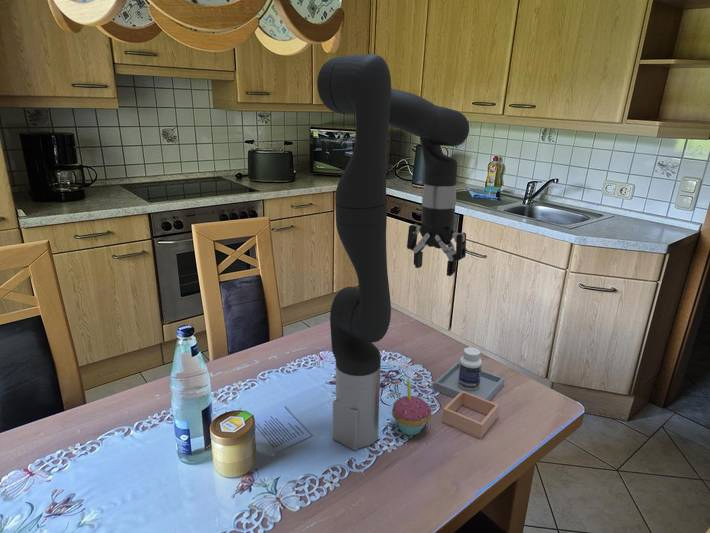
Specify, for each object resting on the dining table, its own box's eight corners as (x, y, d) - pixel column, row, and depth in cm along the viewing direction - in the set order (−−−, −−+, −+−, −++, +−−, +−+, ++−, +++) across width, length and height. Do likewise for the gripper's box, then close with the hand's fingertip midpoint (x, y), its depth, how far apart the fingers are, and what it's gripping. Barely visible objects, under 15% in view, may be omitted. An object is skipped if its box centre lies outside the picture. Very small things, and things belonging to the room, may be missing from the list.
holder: (480, 438, 103) (482, 425, 102) (442, 421, 109) (443, 408, 108) (497, 418, 110) (499, 404, 109) (460, 402, 116) (461, 390, 115)
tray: (482, 409, 113) (483, 401, 113) (433, 389, 121) (434, 382, 120) (503, 385, 123) (504, 378, 122) (457, 368, 131) (457, 361, 130)
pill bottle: (481, 391, 119) (485, 356, 116) (459, 391, 119) (463, 356, 116) (476, 379, 124) (480, 345, 121) (455, 379, 124) (459, 345, 121)
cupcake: (384, 422, 108) (385, 376, 104) (415, 412, 112) (418, 367, 108) (405, 445, 101) (407, 396, 97) (438, 434, 105) (441, 386, 101)
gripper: (403, 202, 111) (400, 268, 116) (459, 211, 103) (453, 282, 108) (420, 197, 117) (416, 261, 122) (474, 205, 108) (468, 273, 114)
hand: (433, 271), depth 115 cm, fingers open, 8 cm apart
